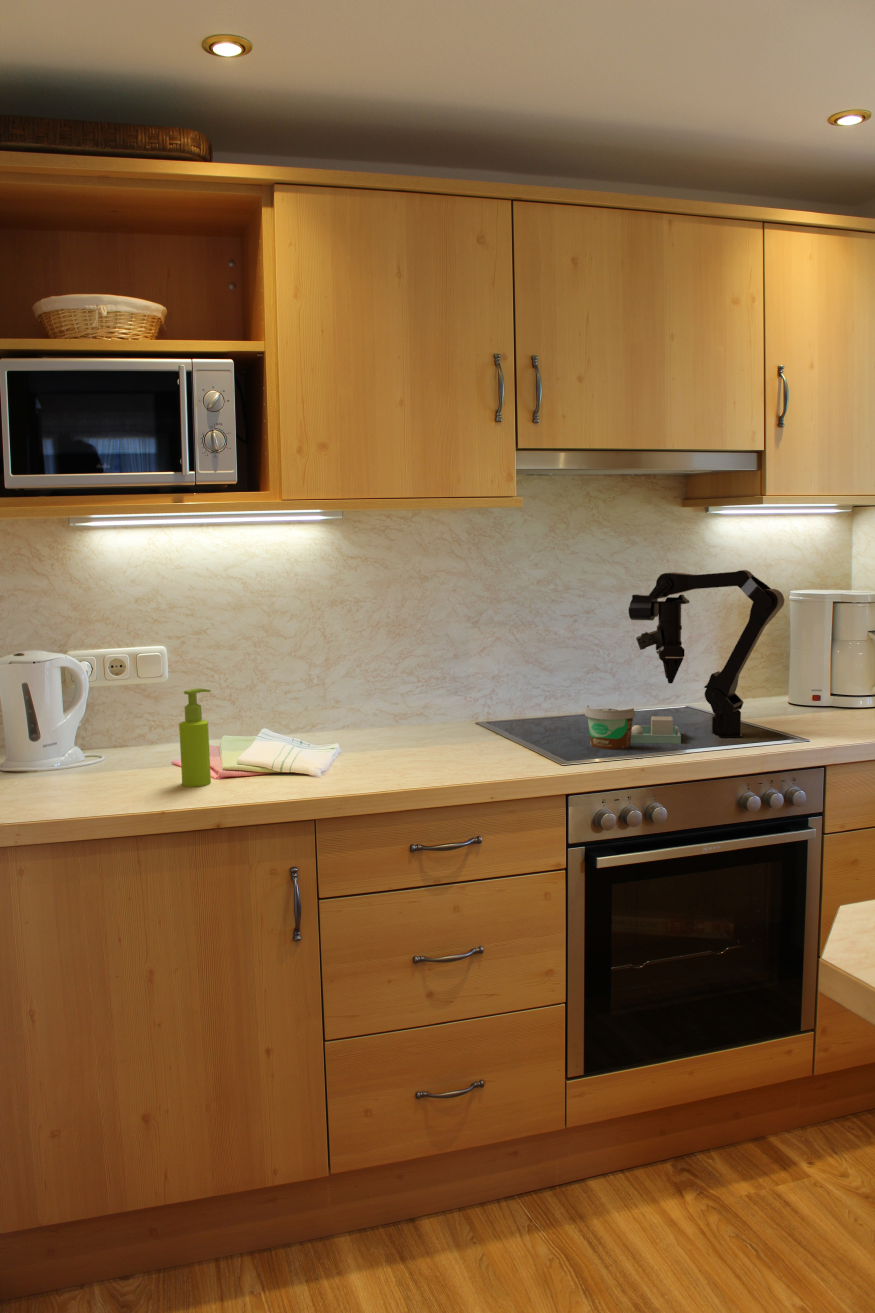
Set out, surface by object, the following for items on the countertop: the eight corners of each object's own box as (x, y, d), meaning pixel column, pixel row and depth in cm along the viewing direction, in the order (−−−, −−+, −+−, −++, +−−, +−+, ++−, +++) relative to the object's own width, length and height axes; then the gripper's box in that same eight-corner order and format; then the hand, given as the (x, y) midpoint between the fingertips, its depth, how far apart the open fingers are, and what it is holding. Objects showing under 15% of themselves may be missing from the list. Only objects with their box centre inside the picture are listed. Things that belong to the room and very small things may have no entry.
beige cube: (671, 736, 234) (671, 716, 233) (672, 740, 229) (673, 720, 228) (651, 735, 234) (651, 716, 234) (651, 740, 230) (652, 720, 229)
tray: (677, 735, 237) (677, 726, 237) (680, 746, 225) (680, 735, 225) (624, 735, 239) (624, 725, 239) (624, 744, 227) (625, 734, 227)
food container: (577, 750, 222) (577, 708, 221) (586, 745, 228) (586, 704, 227) (628, 754, 217) (628, 712, 216) (635, 749, 222) (635, 708, 221)
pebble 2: (643, 738, 232) (643, 727, 231) (643, 740, 229) (643, 729, 229) (631, 738, 232) (631, 727, 232) (631, 740, 230) (631, 729, 229)
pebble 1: (642, 735, 236) (642, 724, 235) (642, 737, 233) (642, 726, 233) (631, 734, 236) (631, 724, 236) (631, 737, 233) (631, 726, 233)
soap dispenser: (220, 781, 198) (216, 688, 196) (192, 788, 193) (187, 692, 191) (204, 777, 202) (200, 686, 200) (176, 784, 197) (171, 690, 194)
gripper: (636, 618, 252) (636, 675, 254) (639, 624, 234) (638, 685, 236) (679, 618, 250) (678, 676, 252) (684, 624, 232) (684, 686, 234)
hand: (669, 680), depth 243 cm, fingers open, 9 cm apart
